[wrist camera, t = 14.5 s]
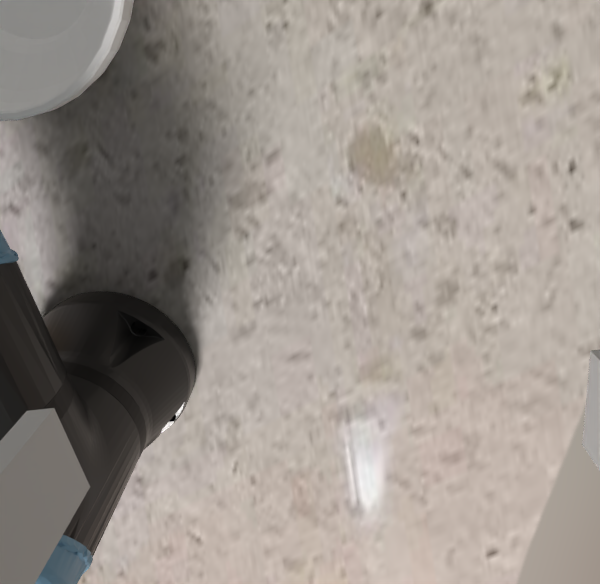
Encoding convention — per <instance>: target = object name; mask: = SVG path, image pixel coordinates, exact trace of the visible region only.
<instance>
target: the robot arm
mask: <svg viewBox="0 0 600 584" xmlns="http://www.w3.org/2000/svg"><path fill="white" fill-rule="evenodd" d="M18 259H19V258H18V254H17V253H16V252H15V251H13V250H11V249H10V247H9V245H8V244H7V242H6V240H5V238H4V236H3V234H2V232H1V230H0V584H77V583H78V581H79V579H80V577H81V576H82V574H83V573H84V572H85V571H86V570H88V569H89V567H90V565H91V563H92V560H93V558H92V557H93V555H94V553H95V551H96V548H97V546H98V544H99V542H100V540H101V538H102V536H103V534H104V531H105V529H106V527H107V525H108V523H109V521H110V519H111V517H112V514H113V512H114V510H115V508H116V506H117V504H118V502H119V500H120V497H121V495H122V493H123V491H124V489H125V487H126V485H127V483H128V480H129V478H130V476H131V474H132V472H133V470H134V468H135V466H136V463H137V461H138V459H139V457H140V455H141V453H142V451H143V450H144V449H145V448H146V447H147V446H149V445H150V444H151V443H152V442H153V441H154V440H155V439H156V438H157V437H158V436H159V435H160V434H161V433H162V432H164V431H165V430H166V429H168V428H169V427H170V426H171V425H172V424H173V423H174V422H175V421H176V420H177V419H178V418H179V416H180V415H181V413H182V412H183V410H184V408H185V406H186V404H187V402H188V400H189V397H190V395H191V393H192V390H193V387H194V382H195V363H194V358H193V354H192V351H191V349H190V346H189V344H188V342H187V341H186V339H185V337H184V336H183V334H182V333H181V331H180V330H179V329H178V328H177V326H176V325H175V324H174V323H173V322H172V321H171V320H170V319H169V318H168V317H167V316H165V315H164V314H163V313H162V312H160V311H159V310H157V309H156V308H154V307H153V306H151V305H149V304H147V303H145V302H143V301H141V300H139V299H136V298H134V297H131V296H127V295H123V294H119V293H113V292H89V293H84V294H80V295H76V296H74V297H71V298H69V299H67V300H65V301H63V302H62V303H60V304H59V305H57V306H56V307H55V308H54V309H52V310H51V311H50V312H49V313H48V314H47V315H46V316H45V317H43V318H42V316H41V314H40V312H39V309H38V307H37V305H36V303H35V301H34V299H33V296H32V294H31V292H30V290H29V288H28V286H27V283H26V281H25V279H24V277H23V275H22V273H21V270H20V268H19V266H18V264H17V262H16V261H17V260H18ZM582 445H583V447H584V448H585V450H586V451H587V453H588V454H589V456H590V457H591V459H592V460H593V462H594V463H595V465H596V466H597V468H598V469H599V471H600V350H592V351H591V352H590V363H589V375H588V386H587V397H586V409H585V421H584V433H583V443H582Z"/></svg>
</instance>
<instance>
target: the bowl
mask: <svg viewBox="0 0 600 584" xmlns="http://www.w3.org/2000/svg"><path fill="white" fill-rule="evenodd" d="M133 3H134V0H0V121H8V120H21V119H25V118H28V117H32V116H35V115H39V114H42V113H46V112H49V111H52V110H56V109H58V108H59V107H61V106H63V105H64V104H66V103H68V102H70V101H71V100H73V99H75V98H77V97H78V96H80V95H81V94H82V93H83V92H84V91H85V90H86V89H87V88H88V87H89V86H90V85H91V84H92V83H93V82H95V81H96V80H97V79H98V78H99V77H100V76H101V75H102V74H103V73H104V72H105V70H106V69H107V67H108V65H109V64H110V62H111V61H112V59H113V58H114V56H115V55H116V53H117V52H118V50H119V49H120V46H121V44H122V41H123V38H124V36H125V33H126V31H127V28H128V25H129V23H130V20H131V15H132V9H133Z"/></svg>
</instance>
